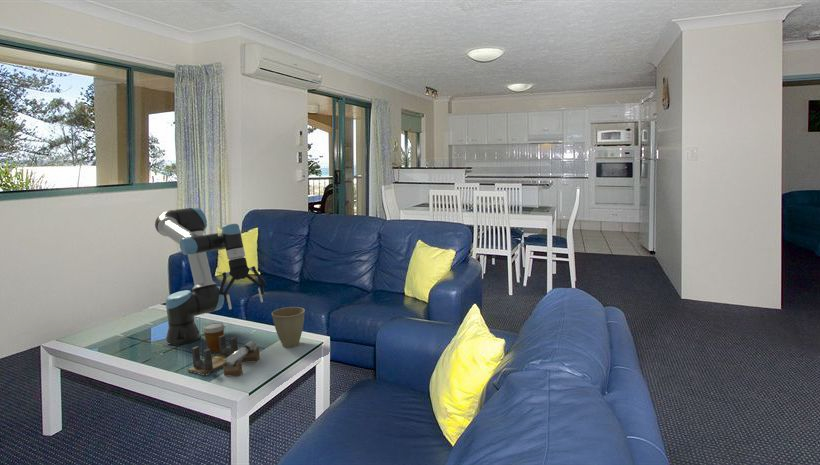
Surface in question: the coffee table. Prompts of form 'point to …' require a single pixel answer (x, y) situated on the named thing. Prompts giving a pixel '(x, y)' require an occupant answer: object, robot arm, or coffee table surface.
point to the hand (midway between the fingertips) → (246, 305)
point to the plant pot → (289, 325)
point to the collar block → (215, 362)
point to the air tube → (240, 353)
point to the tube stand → (237, 368)
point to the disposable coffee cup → (213, 335)
